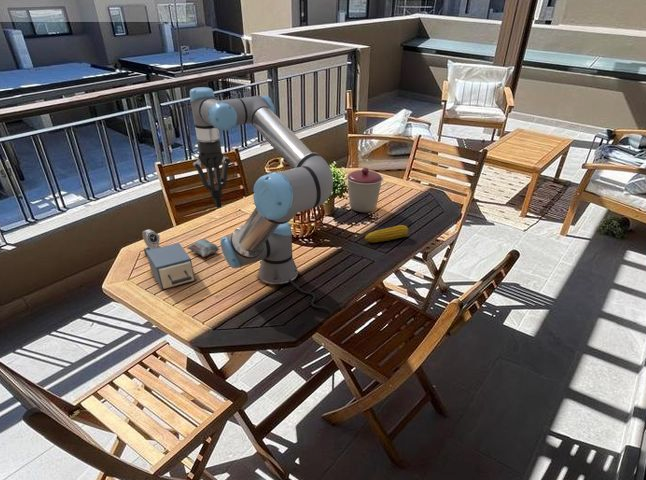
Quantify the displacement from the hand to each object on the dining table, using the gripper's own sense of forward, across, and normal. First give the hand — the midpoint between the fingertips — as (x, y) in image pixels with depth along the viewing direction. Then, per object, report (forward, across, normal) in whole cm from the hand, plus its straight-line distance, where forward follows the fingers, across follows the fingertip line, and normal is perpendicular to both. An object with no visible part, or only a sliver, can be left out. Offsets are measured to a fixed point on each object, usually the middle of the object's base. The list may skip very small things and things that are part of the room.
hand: (218, 206), depth 163 cm
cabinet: (+26, +20, -5) cm, 34 cm away
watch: (+27, +22, -26) cm, 43 cm away
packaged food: (+27, +4, -17) cm, 32 cm away
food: (+27, -71, +13) cm, 77 cm away
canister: (+27, -82, -20) cm, 88 cm away
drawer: (+26, +20, 0) cm, 33 cm away
